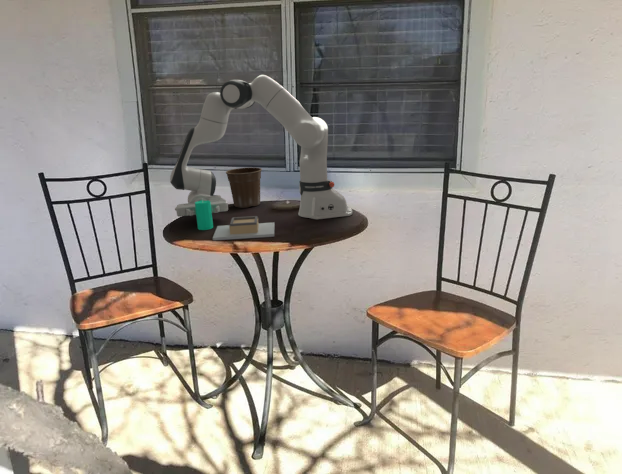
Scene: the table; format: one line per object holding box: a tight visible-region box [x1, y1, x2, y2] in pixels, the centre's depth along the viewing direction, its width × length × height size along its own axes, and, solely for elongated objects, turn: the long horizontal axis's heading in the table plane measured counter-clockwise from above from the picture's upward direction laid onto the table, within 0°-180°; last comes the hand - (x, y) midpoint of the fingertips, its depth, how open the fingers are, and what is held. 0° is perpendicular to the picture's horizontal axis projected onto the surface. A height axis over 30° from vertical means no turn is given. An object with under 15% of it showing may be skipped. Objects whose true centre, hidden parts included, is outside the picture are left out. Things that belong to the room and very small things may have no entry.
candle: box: [195, 199, 214, 231], centre depth 196 cm, size 6×6×12 cm
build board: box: [212, 215, 276, 241], centre depth 188 cm, size 22×16×5 cm
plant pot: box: [225, 167, 263, 209], centre depth 231 cm, size 16×16×16 cm
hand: (204, 212), depth 195 cm, fingers open, 8 cm apart
